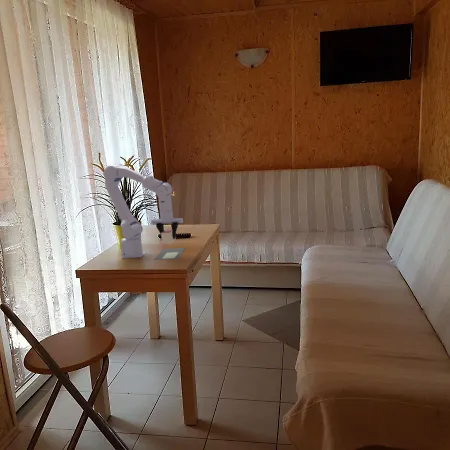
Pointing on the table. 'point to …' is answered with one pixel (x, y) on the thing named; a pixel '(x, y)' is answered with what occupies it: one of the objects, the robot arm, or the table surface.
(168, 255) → the mat
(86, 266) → the table surface
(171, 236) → the card box
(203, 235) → the table surface
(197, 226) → the table surface
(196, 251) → the table surface
